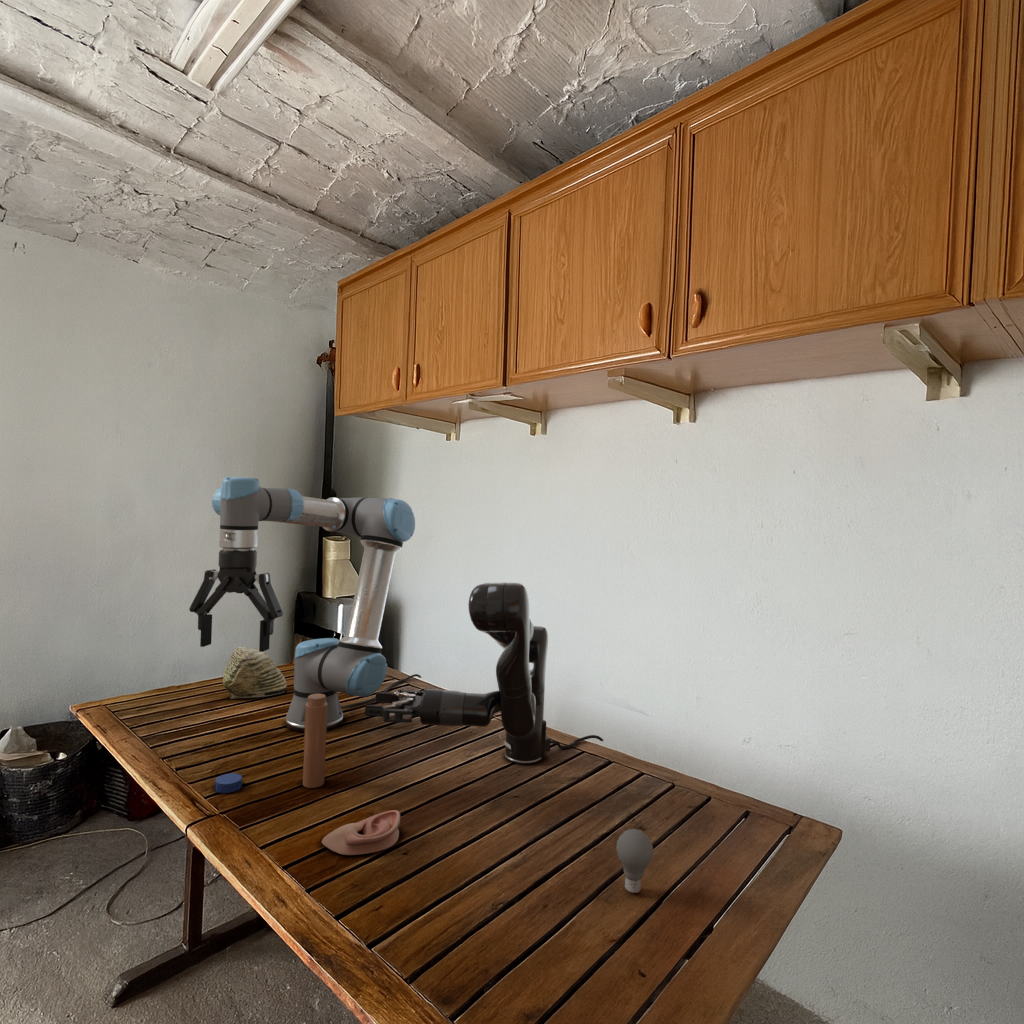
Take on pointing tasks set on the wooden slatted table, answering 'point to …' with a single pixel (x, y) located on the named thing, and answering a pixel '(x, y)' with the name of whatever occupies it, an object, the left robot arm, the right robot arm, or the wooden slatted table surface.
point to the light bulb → (634, 857)
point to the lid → (228, 783)
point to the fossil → (252, 675)
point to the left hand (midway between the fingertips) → (234, 648)
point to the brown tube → (315, 741)
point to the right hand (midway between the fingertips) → (371, 703)
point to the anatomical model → (365, 835)
